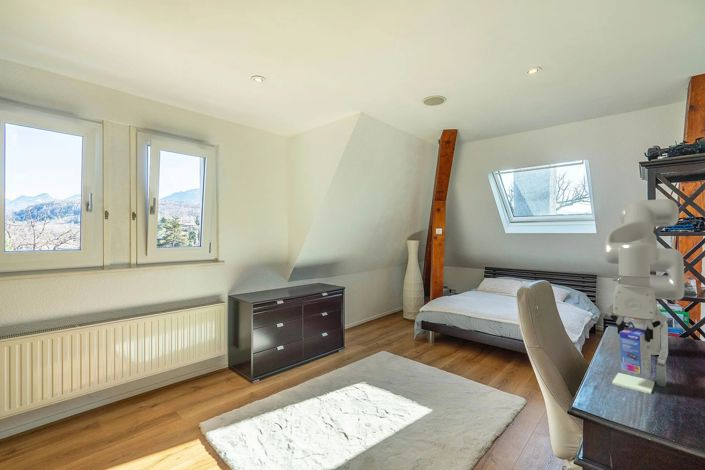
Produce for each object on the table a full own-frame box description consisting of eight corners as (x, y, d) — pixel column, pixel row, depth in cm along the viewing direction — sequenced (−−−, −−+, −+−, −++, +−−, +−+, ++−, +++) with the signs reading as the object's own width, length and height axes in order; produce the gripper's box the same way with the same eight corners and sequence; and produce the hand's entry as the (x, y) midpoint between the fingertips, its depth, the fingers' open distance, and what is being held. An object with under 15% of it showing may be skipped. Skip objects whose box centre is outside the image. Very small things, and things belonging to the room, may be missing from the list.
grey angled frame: (625, 345, 120) (625, 310, 120) (668, 353, 111) (667, 315, 111) (618, 355, 109) (617, 316, 110) (664, 364, 101) (663, 322, 101)
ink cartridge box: (629, 362, 107) (629, 319, 107) (651, 368, 102) (651, 323, 102) (619, 369, 101) (619, 323, 101) (642, 375, 97) (642, 327, 97)
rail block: (657, 381, 104) (657, 362, 104) (666, 383, 102) (666, 364, 102) (656, 384, 101) (656, 365, 101) (665, 386, 99) (665, 367, 100)
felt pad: (618, 374, 109) (618, 372, 109) (654, 383, 102) (654, 381, 102) (612, 384, 101) (612, 382, 101) (650, 394, 95) (650, 392, 95)
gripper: (598, 280, 106) (598, 335, 106) (671, 285, 93) (672, 348, 93) (602, 278, 111) (603, 331, 111) (672, 283, 98) (674, 342, 98)
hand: (635, 338), depth 102 cm, fingers closed on ink cartridge box, 5 cm apart
